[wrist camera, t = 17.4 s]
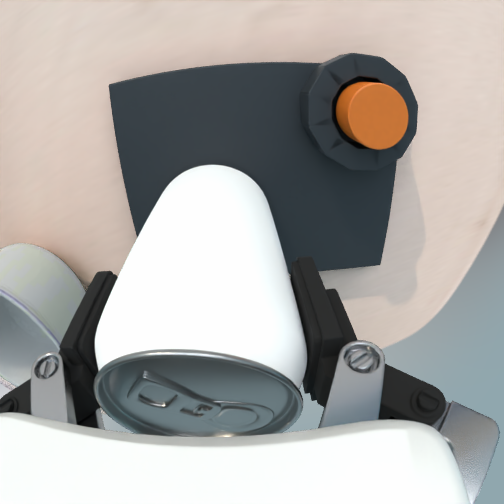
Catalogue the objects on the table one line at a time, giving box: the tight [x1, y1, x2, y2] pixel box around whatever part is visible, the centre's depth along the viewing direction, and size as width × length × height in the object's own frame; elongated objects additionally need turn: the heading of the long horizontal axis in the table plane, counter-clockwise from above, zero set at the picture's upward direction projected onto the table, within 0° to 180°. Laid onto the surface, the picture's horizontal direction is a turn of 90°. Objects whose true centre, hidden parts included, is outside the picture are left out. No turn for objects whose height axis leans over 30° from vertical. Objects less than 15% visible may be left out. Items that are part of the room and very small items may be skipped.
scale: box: [109, 53, 418, 274], centre depth 16 cm, size 16×14×3 cm
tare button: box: [336, 82, 408, 150], centre depth 12 cm, size 3×3×2 cm
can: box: [93, 165, 307, 437], centre depth 12 cm, size 6×6×12 cm
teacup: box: [0, 243, 86, 387], centre depth 17 cm, size 14×11×8 cm
